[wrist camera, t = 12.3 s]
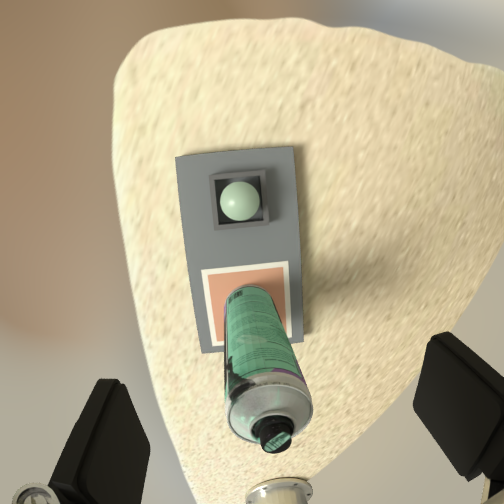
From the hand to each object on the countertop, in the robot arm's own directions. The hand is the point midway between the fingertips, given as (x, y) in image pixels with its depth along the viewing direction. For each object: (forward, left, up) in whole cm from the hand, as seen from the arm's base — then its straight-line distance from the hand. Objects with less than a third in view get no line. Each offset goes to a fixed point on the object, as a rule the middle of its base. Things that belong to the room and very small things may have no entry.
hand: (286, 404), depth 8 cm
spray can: (-6, -4, -25) cm, 26 cm away
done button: (+4, +2, -23) cm, 24 cm away
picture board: (-1, -1, -26) cm, 26 cm away
